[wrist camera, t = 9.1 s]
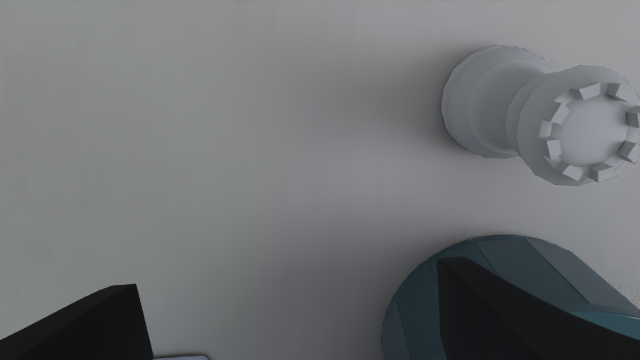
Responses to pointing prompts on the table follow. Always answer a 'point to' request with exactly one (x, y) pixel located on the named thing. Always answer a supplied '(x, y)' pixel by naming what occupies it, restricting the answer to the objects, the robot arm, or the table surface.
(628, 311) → the pot lid
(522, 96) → the rook chess piece
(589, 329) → the robot arm
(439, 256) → the pot
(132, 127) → the table surface
